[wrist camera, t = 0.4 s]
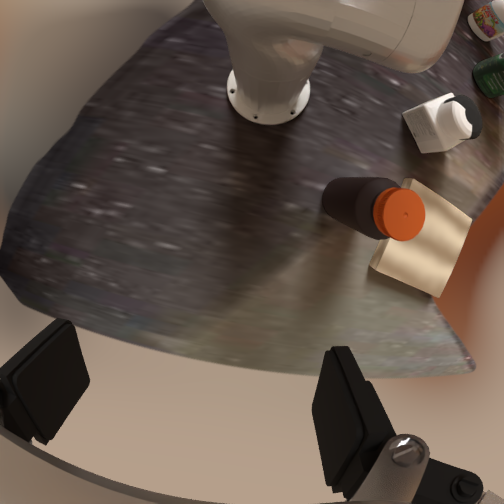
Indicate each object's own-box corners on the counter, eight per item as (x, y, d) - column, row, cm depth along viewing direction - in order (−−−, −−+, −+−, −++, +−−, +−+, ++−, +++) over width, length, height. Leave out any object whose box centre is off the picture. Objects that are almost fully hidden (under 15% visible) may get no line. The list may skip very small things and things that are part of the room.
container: (428, 100, 37) (472, 85, 24) (447, 139, 38) (493, 133, 26) (400, 113, 38) (443, 97, 25) (420, 154, 39) (467, 150, 27)
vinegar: (332, 227, 43) (387, 264, 24) (314, 188, 41) (361, 196, 22) (368, 209, 42) (440, 232, 23) (351, 170, 41) (419, 167, 21)
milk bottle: (477, 16, 29) (523, -9, 9) (492, 42, 30) (542, 22, 11) (461, 14, 29) (509, -15, 10) (478, 42, 31) (531, 18, 12)
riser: (404, 178, 41) (413, 178, 38) (462, 217, 42) (472, 219, 39) (368, 264, 44) (375, 270, 41) (431, 292, 46) (438, 298, 43)
